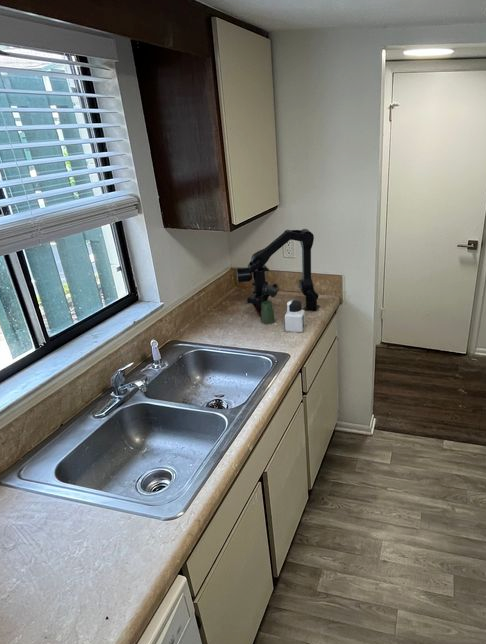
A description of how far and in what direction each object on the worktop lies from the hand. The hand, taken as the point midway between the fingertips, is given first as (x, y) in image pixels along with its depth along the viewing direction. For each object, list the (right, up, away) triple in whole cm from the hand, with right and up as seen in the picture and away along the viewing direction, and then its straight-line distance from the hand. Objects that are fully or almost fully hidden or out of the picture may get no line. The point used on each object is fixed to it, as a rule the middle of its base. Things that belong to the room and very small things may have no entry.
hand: (262, 310), depth 212 cm
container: (+18, -8, -14) cm, 24 cm away
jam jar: (+4, -5, -7) cm, 9 cm away
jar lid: (0, 0, 0) cm, 0 cm away
